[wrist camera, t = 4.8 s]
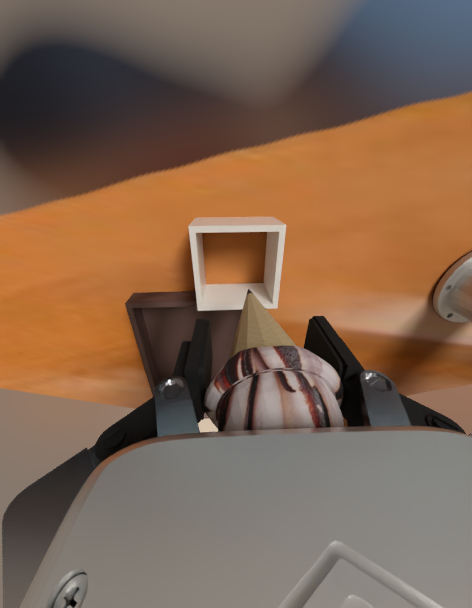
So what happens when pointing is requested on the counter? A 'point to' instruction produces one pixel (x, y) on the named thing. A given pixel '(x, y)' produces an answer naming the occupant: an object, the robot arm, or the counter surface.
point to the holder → (236, 293)
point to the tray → (176, 330)
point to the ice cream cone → (272, 380)
